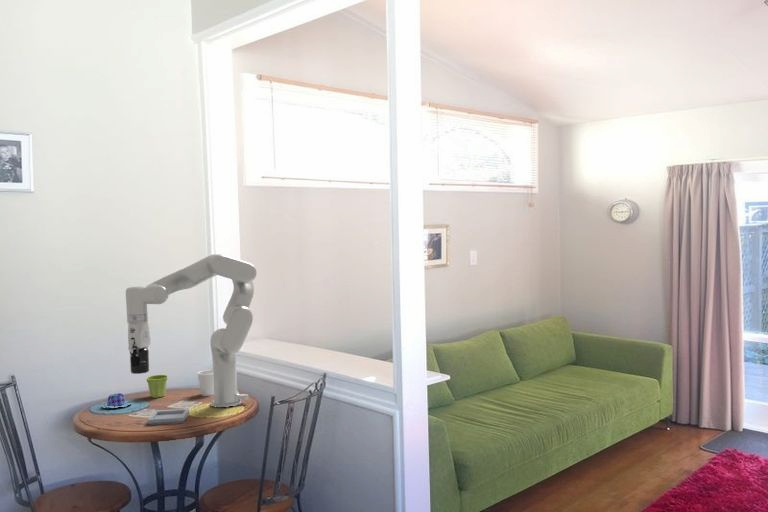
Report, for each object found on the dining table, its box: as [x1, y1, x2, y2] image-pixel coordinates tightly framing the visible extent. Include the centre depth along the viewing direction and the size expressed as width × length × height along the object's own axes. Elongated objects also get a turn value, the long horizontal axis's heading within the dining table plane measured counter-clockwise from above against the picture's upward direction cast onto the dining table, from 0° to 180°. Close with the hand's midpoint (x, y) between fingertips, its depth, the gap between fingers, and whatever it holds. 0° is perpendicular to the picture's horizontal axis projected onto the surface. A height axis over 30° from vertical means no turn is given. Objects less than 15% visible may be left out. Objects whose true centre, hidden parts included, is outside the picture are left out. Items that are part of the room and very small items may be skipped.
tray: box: [147, 408, 190, 426], centre depth 258 cm, size 13×13×2 cm
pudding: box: [106, 392, 127, 407], centre depth 281 cm, size 12×12×5 cm
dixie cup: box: [196, 369, 214, 397], centre depth 297 cm, size 8×8×10 cm
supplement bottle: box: [129, 347, 150, 375], centre depth 260 cm, size 7×7×12 cm
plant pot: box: [145, 374, 169, 399], centre depth 296 cm, size 9×9×9 cm
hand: (139, 363), depth 260 cm, fingers closed on supplement bottle, 6 cm apart
